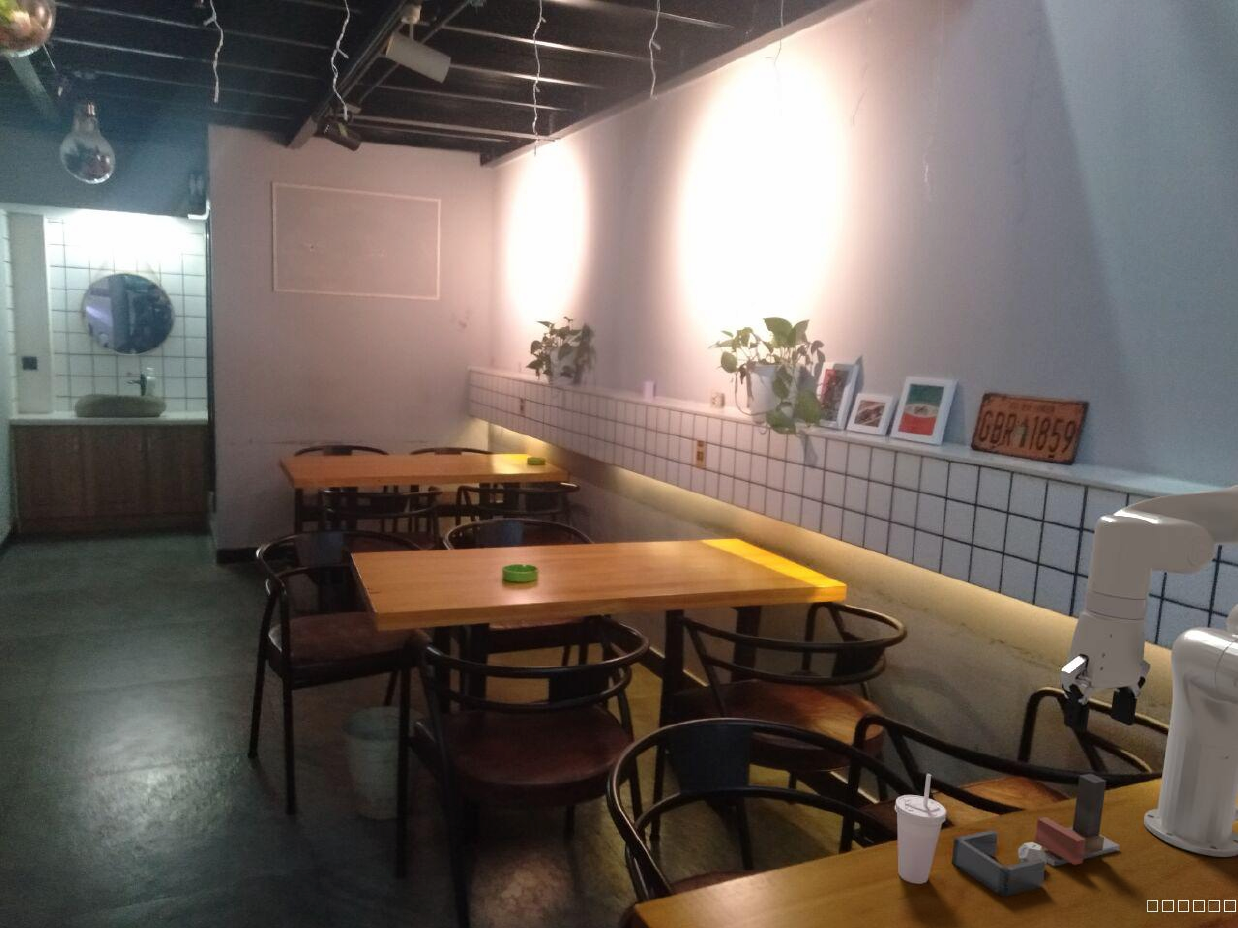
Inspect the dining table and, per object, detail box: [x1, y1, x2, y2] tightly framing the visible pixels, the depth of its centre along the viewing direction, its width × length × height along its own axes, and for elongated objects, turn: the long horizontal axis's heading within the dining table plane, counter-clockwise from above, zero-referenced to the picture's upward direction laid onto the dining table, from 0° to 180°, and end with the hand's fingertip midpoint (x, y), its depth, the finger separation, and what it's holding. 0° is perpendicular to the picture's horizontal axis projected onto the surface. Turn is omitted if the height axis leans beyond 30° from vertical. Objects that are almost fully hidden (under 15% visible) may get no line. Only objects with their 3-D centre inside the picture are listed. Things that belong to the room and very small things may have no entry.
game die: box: [1017, 841, 1048, 866], centre depth 125 cm, size 4×4×3 cm
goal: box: [951, 829, 1046, 898], centre depth 122 cm, size 7×9×4 cm
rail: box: [1044, 836, 1120, 867], centre depth 129 cm, size 14×2×1 cm, turn 116°
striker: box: [1034, 773, 1107, 865], centre depth 128 cm, size 8×6×10 cm
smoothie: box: [894, 773, 947, 885], centre depth 120 cm, size 6×6×14 cm
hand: (1098, 725), depth 128 cm, fingers open, 9 cm apart
